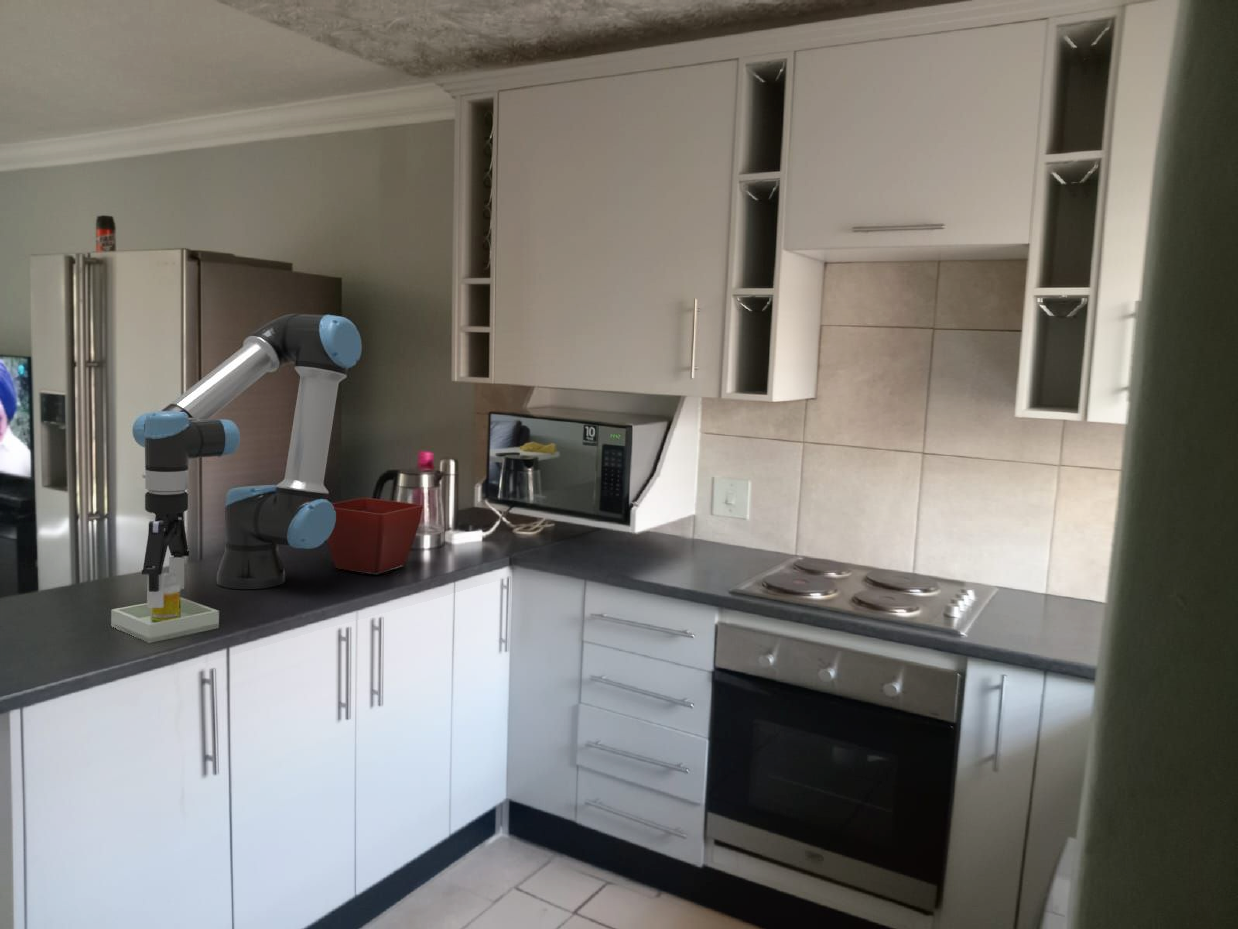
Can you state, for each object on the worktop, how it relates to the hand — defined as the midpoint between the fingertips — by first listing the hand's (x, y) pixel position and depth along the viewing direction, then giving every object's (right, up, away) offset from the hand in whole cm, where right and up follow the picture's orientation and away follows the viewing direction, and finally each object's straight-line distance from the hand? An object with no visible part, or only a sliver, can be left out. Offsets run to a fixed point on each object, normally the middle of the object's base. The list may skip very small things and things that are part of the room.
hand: (166, 597), depth 181 cm
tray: (0, -6, +1) cm, 6 cm away
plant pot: (+24, -1, +59) cm, 63 cm away
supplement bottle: (0, -5, 0) cm, 5 cm away
